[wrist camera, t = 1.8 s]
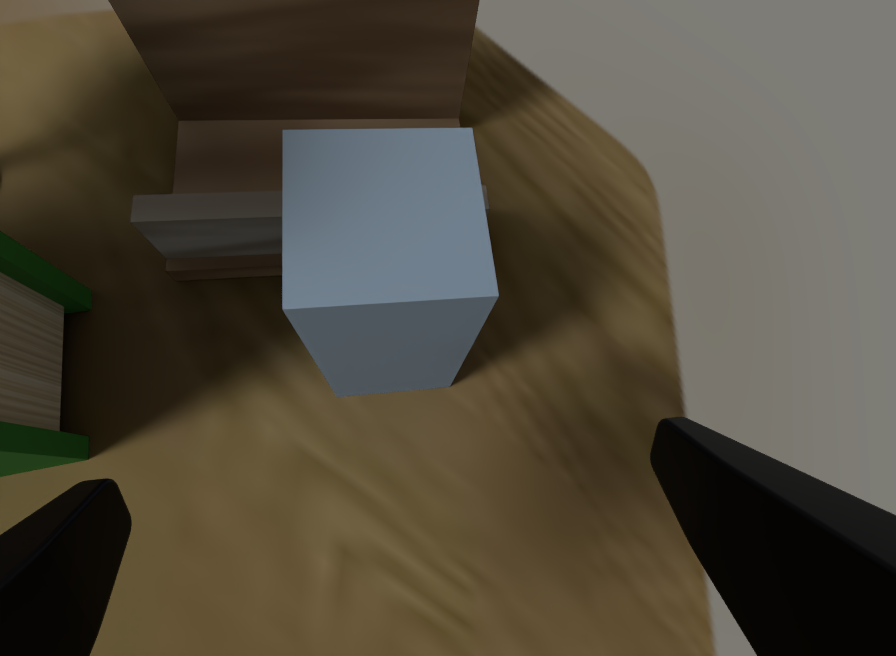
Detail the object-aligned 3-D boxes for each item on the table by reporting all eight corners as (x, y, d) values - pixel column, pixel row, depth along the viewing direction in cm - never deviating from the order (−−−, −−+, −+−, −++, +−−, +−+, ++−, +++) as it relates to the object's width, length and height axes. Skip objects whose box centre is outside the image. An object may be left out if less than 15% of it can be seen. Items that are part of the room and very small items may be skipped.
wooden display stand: (475, 265, 23) (567, 13, 11) (175, 280, 21) (-125, -5, 9) (453, 109, 26) (504, -224, 14) (189, 110, 24) (-19, -275, 12)
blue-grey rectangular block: (449, 386, 21) (498, 296, 11) (336, 397, 20) (282, 309, 10) (438, 286, 22) (472, 127, 13) (333, 292, 22) (282, 130, 12)
